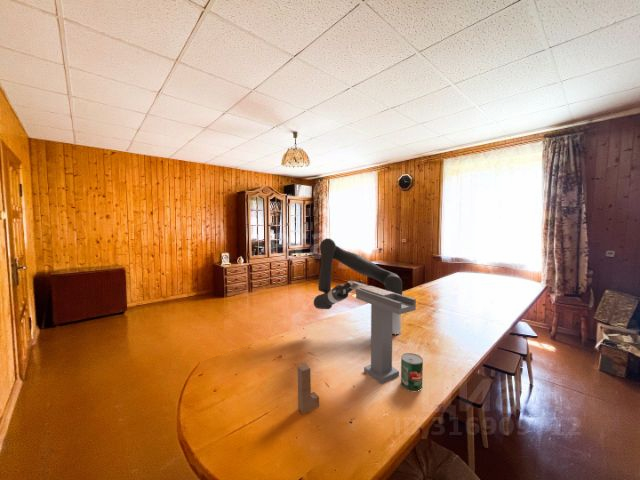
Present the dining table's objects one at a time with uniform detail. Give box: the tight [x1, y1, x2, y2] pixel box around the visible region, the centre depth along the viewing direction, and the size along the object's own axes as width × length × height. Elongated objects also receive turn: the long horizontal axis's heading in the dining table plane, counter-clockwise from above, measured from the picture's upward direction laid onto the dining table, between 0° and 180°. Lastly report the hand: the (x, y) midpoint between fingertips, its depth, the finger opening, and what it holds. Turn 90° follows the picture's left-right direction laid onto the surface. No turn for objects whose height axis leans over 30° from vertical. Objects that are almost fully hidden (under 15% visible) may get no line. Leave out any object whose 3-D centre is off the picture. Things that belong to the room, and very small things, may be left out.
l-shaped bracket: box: [297, 363, 320, 415], centre depth 89 cm, size 7×3×15 cm, turn 123°
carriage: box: [347, 280, 395, 300], centre depth 114 cm, size 25×6×3 cm, turn 31°
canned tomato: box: [400, 352, 424, 392], centre depth 101 cm, size 8×8×11 cm
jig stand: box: [355, 286, 417, 385], centre depth 107 cm, size 24×10×34 cm, turn 31°
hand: (355, 283), depth 121 cm, fingers open, 6 cm apart
